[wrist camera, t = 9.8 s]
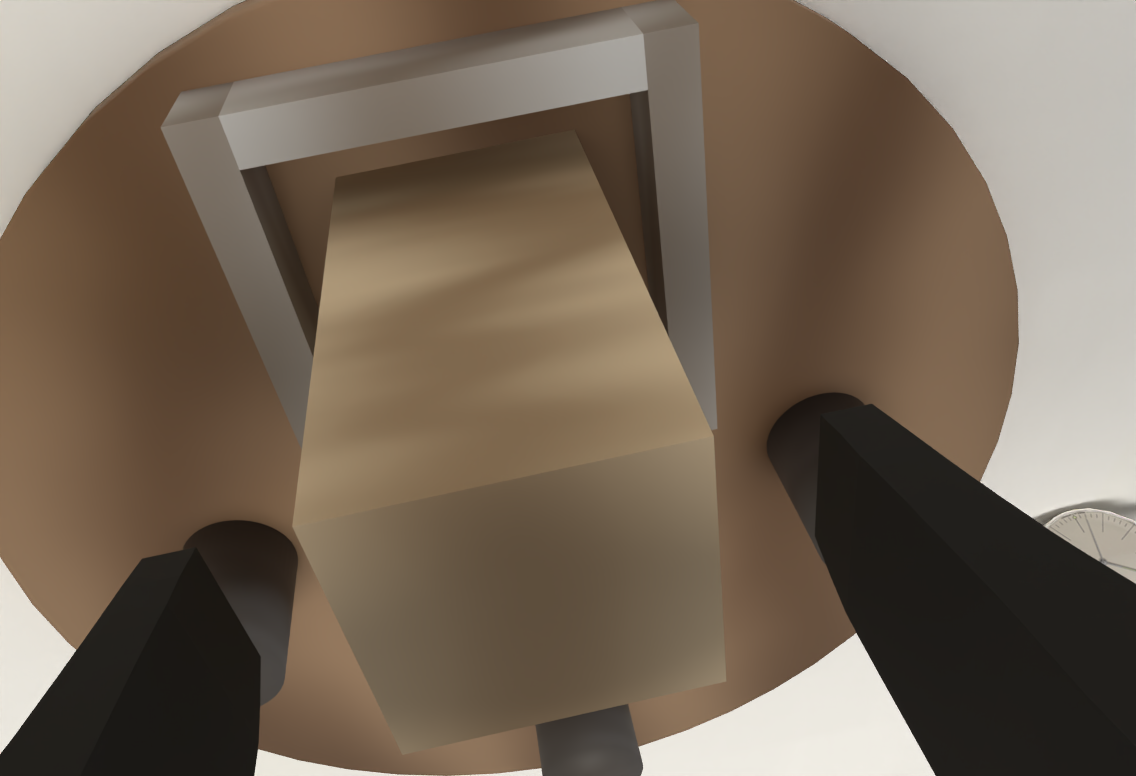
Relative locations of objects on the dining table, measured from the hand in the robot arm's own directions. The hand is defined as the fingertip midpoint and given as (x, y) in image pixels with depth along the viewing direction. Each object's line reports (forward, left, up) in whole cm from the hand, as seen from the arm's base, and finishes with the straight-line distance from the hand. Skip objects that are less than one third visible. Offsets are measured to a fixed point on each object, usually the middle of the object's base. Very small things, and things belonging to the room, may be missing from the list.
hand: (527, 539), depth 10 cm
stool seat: (0, +6, -8) cm, 10 cm away
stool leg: (0, 0, -7) cm, 7 cm away
